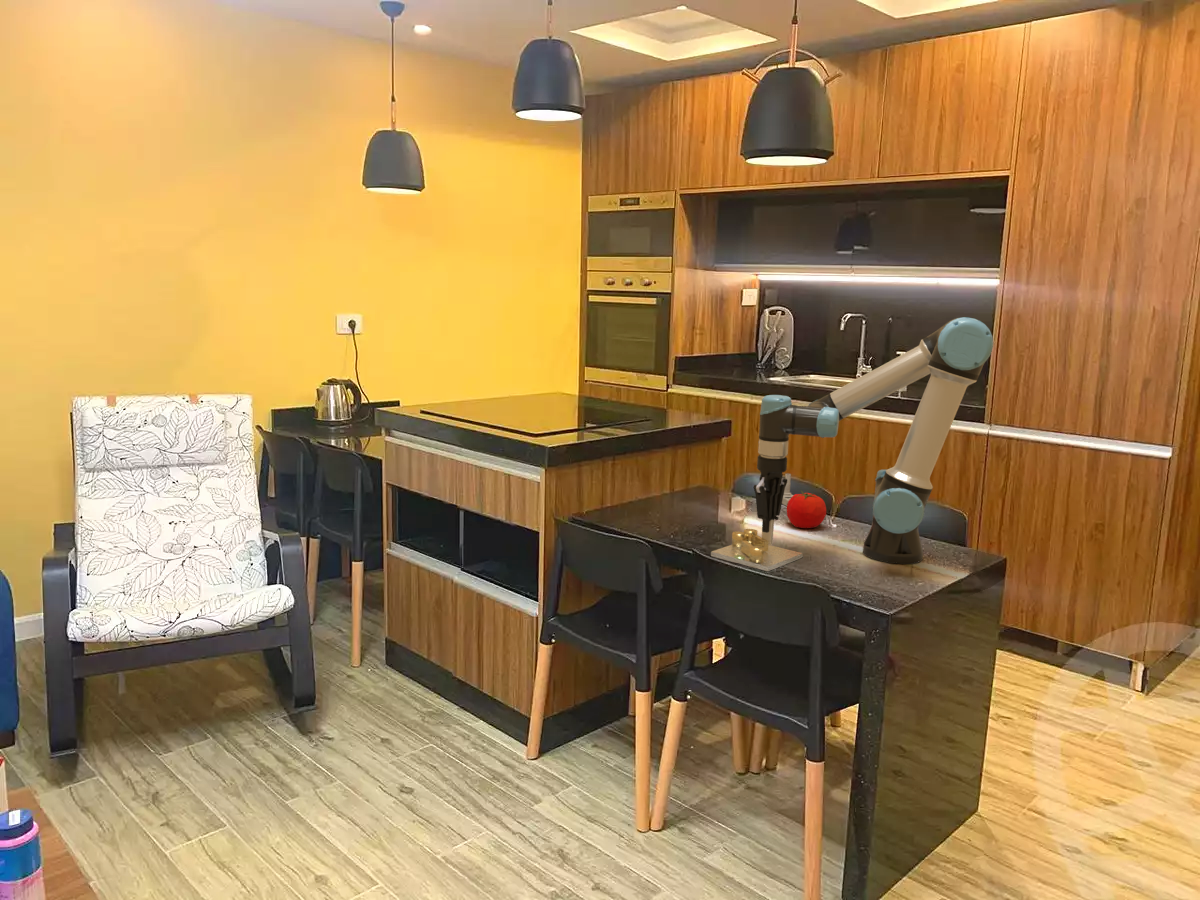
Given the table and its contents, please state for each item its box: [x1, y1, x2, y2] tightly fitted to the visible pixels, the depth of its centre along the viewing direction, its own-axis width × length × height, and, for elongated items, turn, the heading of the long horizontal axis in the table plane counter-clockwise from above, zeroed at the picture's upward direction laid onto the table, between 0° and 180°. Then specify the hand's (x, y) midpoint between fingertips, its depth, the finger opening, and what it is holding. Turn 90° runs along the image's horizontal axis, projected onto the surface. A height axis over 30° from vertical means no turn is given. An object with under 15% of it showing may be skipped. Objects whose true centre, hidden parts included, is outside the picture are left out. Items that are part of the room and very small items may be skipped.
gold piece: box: [741, 541, 764, 563], centre depth 226 cm, size 10×4×3 cm, turn 13°
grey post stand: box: [782, 472, 794, 507], centre depth 289 cm, size 5×10×15 cm
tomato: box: [786, 490, 827, 529], centre depth 263 cm, size 12×12×10 cm
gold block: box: [743, 528, 769, 551], centre depth 236 cm, size 10×4×3 cm, turn 19°
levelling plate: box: [710, 530, 804, 572], centre depth 231 cm, size 17×17×4 cm
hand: (766, 543), depth 234 cm, fingers closed
